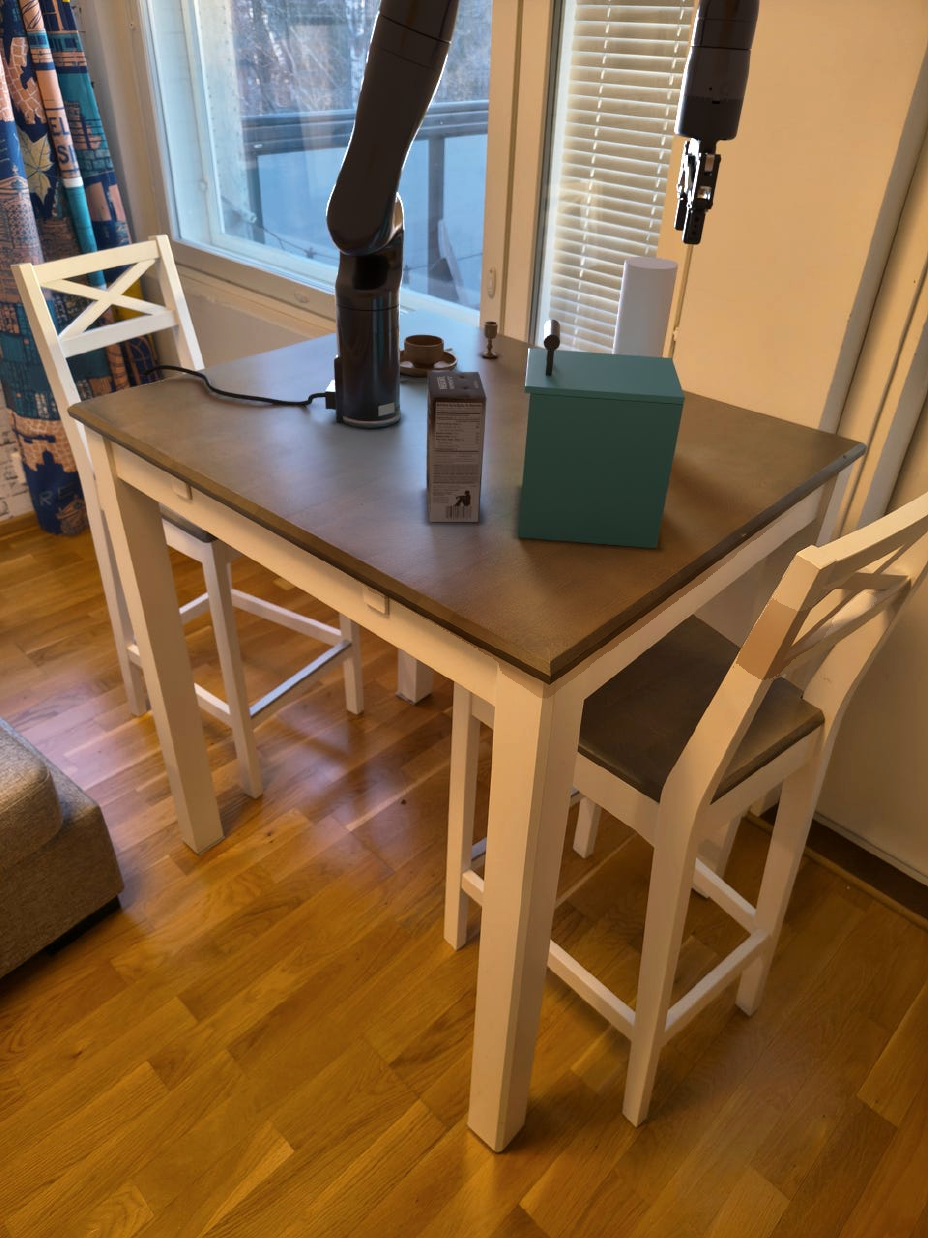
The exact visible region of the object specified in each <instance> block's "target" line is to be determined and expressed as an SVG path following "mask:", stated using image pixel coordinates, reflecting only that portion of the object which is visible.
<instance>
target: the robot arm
mask: <svg viewBox="0 0 928 1238" xmlns="http://www.w3.org/2000/svg"><path fill="white" fill-rule="evenodd" d="M760 2H761V0H698V4H697V8H696V13H695V17H694V18H695V19H694V24H693V29H692V35H691V42H690V47H689V51H688V56H687V60H686V62H685V67H684V70H683V77H682V83H681V88H680V94H679V101H678V107H677V114H676V120H675V125H674V133H675V135H676V136H678V137H681V138H686V139H690V140H685V142H684V144H683V153H682V158H681V164H680V170H679V175H678V182H677V183H676V191H677V193H676V195H677V199H678V200H677V201H678V202H677V207H676V214H675V220H674V224H673V228H674V229H675V231H677V232H678V231H679V232H683V233H682V239H681V240H682V242H683V244H685V245H691V246H692V245H693V246H698V245H699V244H700V243H701V240H702V237H703V230H704V225H705V221H706V215H707V213H709V210H712V208H713V207H714V199H715V192H716V188H717V187H716V186H717V182H718V176H719V171H720V167H721V162H722V154H721V153H717V144H718V142H720V141H724V142H727V141H732V140H735V138H736V137H737V135H738V131H739V125H740V120H741V117H742V110H743V105H744V100H745V96H746V91H747V85H748V81H749V76H750V67H751V56H752V55H751V54H752V49H753V44H754V40H755V33H756V28H757V25H758V24H757V23H758V19H759V12H760V4H761V3H760ZM459 6H460V0H380V3H379V6H378V11H377V14H376V19H375V21H374V22H375V23H374V25H373V26H374V27H373V31H372V35H371V38H370V41H369V42H370V43H369V48H368V52H367V58H366V63H365V67H364V71H363V76H362V80H361V84H360V85H361V86H360V90H359V95H358V100H357V101H358V102H357V105H356V106H357V107H356V112H355V117H354V123H353V128H352V132H351V135H350V140H349V142H348V146H347V149H346V152H345V154H344V158H343V161H342V164H341V167H340V170H339V173H338V175H337V178H336V181H335V184H334V186H333V189H332V192H331V194H330V197H329V200H328V202H327V207H326V211H325V212H326V214H325V220H326V228H327V232H328V234H329V237H330V239H331V241H332V243H333V245H334V246H335V247H336V248H337V249H338V250H339V258H338V259H339V261H338V269H337V274H336V277H335V281H334V304H335V305H334V307H335V309H334V310H335V328H336V331H335V333H336V355H335V358H334V359H333V373H334V374H333V375H334V376H333V377H334V379H331V381H330V382H329V384H328V386H327V387H326V389H325V390H324V392H316V393H315V392H314V393H312V394H309V396H308V398H307V399H306V400H301V401H290V400H282V399H276V398H271V397H265V396H258V395H251V394H244V393H243V394H242V393H237V392H231V391H226V390H222V389H221V388H218V387H215V386H214V385H213V384H212V382H211V380H210V378H209V377H208V376H207V374H205V373H202V372H200V371H197V370H192V369H189V368H185V367H182V366H178V365H174V364H173V365H172V364H157V365H154V366H150V367H149V368H147V369H146V370H145V371H143V373H141V375H142V376H149V375H150V374H151V373H154V372H155V371H160V370H168V371H170V370H171V371H176V372H180V373H184V374H188V375H191V376H195V377H198V378H201V379H203V381H204V383H205V385H206V387H207V388H208V389H209V390H210V391H211V392H213V393H215V394H218V395H221V396H223V397H228V398H233V399H239V400H247V401H253V402H262V403H266V404H272V405H281V406H300V407H305V406H309V405H311V404H312V403H313V401H314V400H315V399H319V398H320V399H321V398H324V405H325V410H334V411H335V421H336V423H344V424H346V425H348V426H351V427H355V428H363V429H378V428H384V427H388V426H392V425H394V424H396V423H397V422H399V421H400V419H401V394H400V393H401V381H400V380H401V372H400V350H401V287H402V282H403V275H404V251H405V250H404V246H405V245H404V244H405V241H404V240H405V215H404V214H405V213H404V206H403V202H402V200H401V196H400V195H399V192H398V191H399V188H400V182H401V180H402V179H401V178H402V174H403V170H404V166H405V163H406V160H407V157H408V155H409V151H410V150H411V146H412V144H413V142H414V140H415V138H416V135H417V134H418V132H419V129H420V127H421V126H422V124H423V121H424V119H425V117H426V114H427V112H428V111H429V108H430V105H431V103H432V101H433V98H434V96H435V94H436V92H437V89H438V86H439V84H440V80H441V78H442V74H443V72H444V68H445V65H446V62H447V58H448V54H449V52H450V48H451V45H452V44H451V43H452V41H453V37H454V33H455V29H456V24H457V19H458V13H459V9H460V8H459ZM699 196H703V197H699Z"/></svg>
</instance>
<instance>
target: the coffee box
mask: <svg viewBox="0 0 928 1238" xmlns="http://www.w3.org/2000/svg"><path fill="white" fill-rule="evenodd" d="M427 373H428V377H427V378H428V379H427V397H426V399H427V400H426V401H427V403H426V404H427V405H426V475H425V476H426V479H425V480H426V483H425V484H426V485H425V487H426V489H425V490H426V498H427V500H426V501H427V509H428V520H429V522H430V523H478V522H479V521H480V509H481V508H480V507H481V491H482V478H483V464H484V461H483V460H484V449H485V448H484V447H485V446H484V445H485V433H486V429H485V428H486V415H487V399H488V398H487V394H486V391H485V389H484V386H483V382H482V379H481V376H480V373H479V371H461V370H452V371H451V370H431V371H428V372H427Z"/></svg>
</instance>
